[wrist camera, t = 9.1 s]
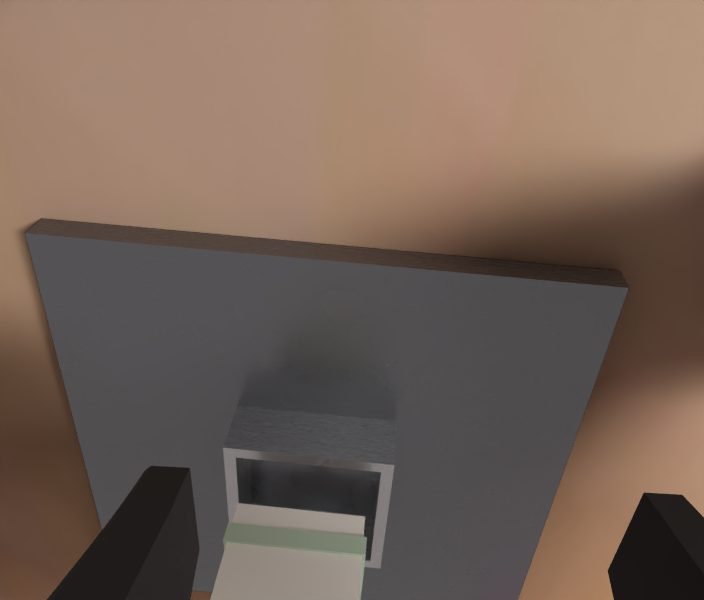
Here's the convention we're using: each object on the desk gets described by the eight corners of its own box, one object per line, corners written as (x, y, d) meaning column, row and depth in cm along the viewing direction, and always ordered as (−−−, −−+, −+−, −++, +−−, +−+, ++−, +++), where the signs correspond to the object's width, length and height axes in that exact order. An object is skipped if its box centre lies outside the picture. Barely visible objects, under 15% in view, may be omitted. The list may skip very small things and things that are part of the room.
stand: (619, 270, 19) (660, 346, 16) (506, 604, 29) (517, 691, 26) (41, 218, 20) (-30, 281, 17) (123, 562, 30) (89, 642, 27)
